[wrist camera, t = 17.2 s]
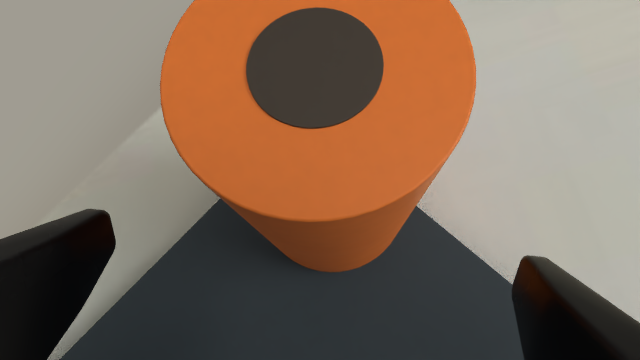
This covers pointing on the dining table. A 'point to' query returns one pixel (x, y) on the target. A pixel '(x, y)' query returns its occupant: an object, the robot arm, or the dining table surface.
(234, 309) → the slate mat
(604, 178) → the dining table surface
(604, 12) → the dining table surface
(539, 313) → the robot arm
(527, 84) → the dining table surface
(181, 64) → the orange cylinder
